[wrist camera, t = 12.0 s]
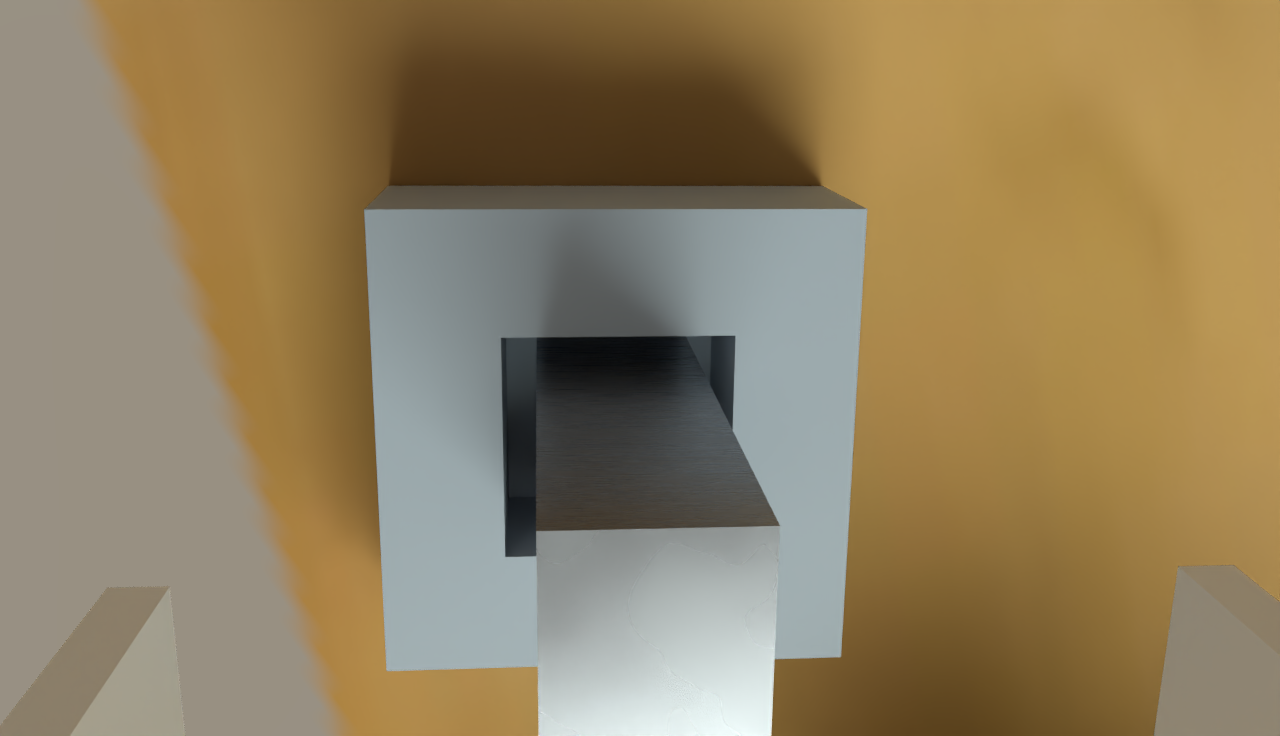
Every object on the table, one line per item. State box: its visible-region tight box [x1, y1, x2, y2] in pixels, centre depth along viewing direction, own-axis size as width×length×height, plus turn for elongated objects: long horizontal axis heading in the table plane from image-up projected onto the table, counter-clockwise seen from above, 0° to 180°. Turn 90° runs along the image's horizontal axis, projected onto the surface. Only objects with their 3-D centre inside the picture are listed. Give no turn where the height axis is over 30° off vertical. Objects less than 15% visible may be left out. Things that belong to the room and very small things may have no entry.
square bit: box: [536, 336, 780, 736], centre depth 23 cm, size 3×3×12 cm
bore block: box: [364, 186, 867, 671], centre depth 28 cm, size 10×10×4 cm
